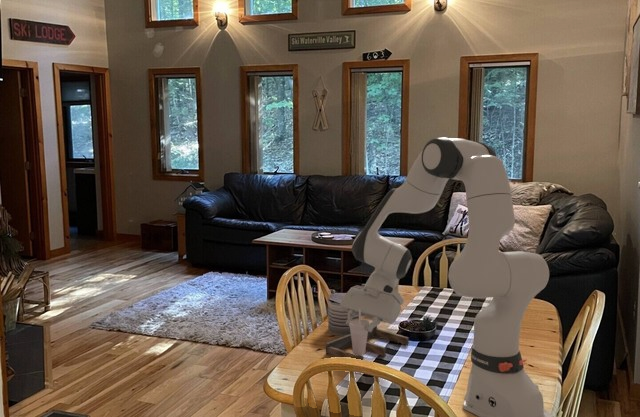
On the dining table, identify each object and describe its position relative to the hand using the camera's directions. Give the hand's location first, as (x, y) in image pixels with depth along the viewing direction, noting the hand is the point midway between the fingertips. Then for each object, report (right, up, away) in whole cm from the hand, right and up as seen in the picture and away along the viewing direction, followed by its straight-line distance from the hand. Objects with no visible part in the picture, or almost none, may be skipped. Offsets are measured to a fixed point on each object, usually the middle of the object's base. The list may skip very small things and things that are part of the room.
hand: (357, 327), depth 182 cm
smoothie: (0, -8, +2) cm, 8 cm away
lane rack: (+4, -8, +7) cm, 11 cm away
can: (-3, -6, +25) cm, 26 cm away
